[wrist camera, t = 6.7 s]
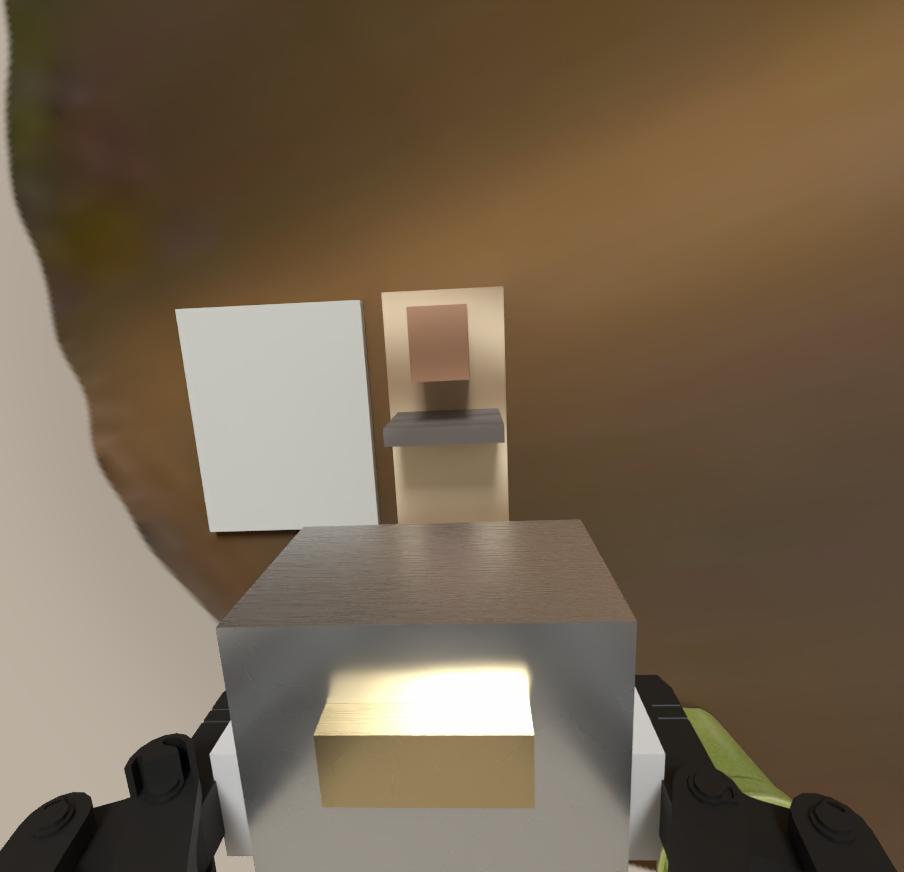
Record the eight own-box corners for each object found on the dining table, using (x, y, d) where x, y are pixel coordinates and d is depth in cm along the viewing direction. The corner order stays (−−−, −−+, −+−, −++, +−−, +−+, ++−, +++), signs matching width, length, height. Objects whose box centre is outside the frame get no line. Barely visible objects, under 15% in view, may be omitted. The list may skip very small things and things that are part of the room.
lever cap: (303, 526, 14) (192, 654, 9) (580, 519, 14) (652, 648, 8) (333, 782, 16) (257, 1023, 11) (577, 782, 16) (635, 1034, 10)
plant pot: (691, 656, 33) (766, 767, 25) (774, 744, 35) (873, 878, 26) (584, 734, 35) (622, 863, 27) (668, 816, 36) (729, 964, 28)
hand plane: (396, 299, 29) (359, 282, 19) (497, 294, 29) (511, 274, 19) (420, 657, 34) (400, 787, 24) (506, 655, 34) (522, 786, 24)
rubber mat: (182, 309, 30) (175, 309, 29) (362, 300, 29) (360, 299, 29) (216, 527, 33) (210, 532, 32) (380, 522, 32) (378, 527, 31)
